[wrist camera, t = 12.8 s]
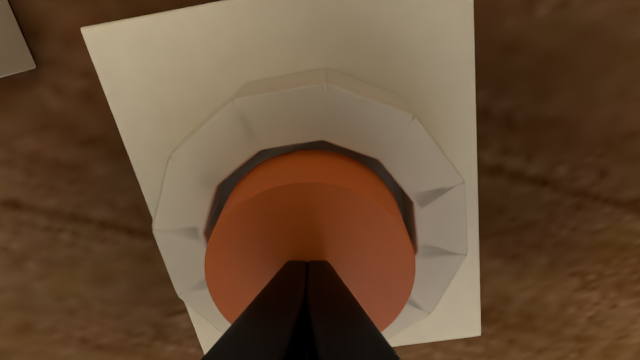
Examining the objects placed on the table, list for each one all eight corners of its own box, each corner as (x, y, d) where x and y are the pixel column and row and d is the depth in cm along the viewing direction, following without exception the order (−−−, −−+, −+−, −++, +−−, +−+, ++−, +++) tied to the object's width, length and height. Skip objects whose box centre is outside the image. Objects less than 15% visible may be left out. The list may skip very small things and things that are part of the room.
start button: (409, 292, 11) (423, 342, 10) (246, 313, 11) (234, 366, 10) (391, 133, 9) (406, 163, 8) (199, 165, 10) (175, 199, 8)
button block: (461, 291, 16) (504, 384, 12) (223, 323, 16) (195, 420, 13) (446, -41, 11) (506, -57, 7) (120, 21, 12) (29, 35, 8)
